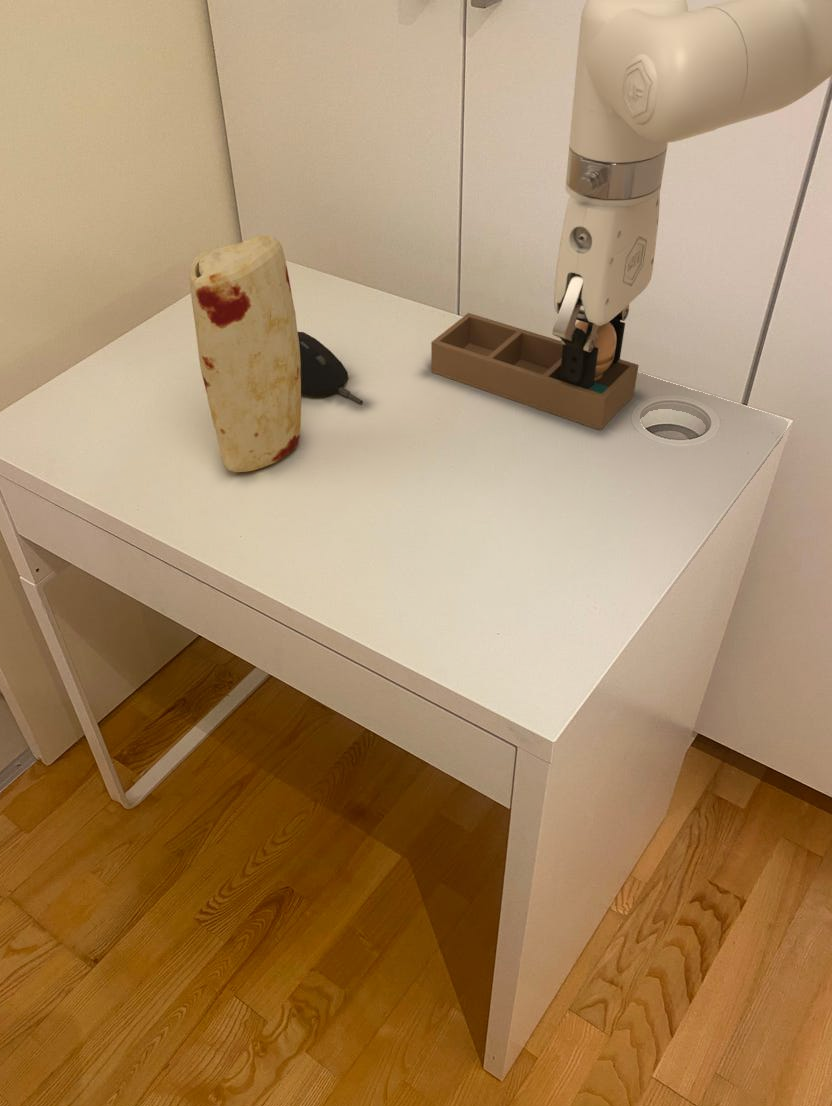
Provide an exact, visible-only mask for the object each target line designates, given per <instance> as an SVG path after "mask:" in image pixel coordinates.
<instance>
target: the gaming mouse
mask: <svg viewBox="0 0 832 1106" xmlns="http://www.w3.org/2000/svg"><path fill="white" fill-rule="evenodd" d="M298 339H299V347H300V360H301V396H304V397H307V398H322V397H325V396H329V395H332V394H335V393H337V392H338V393H339V394H341V395H342V396H343V397H345V398H349V399H351V400H353V401H354V402H356V403H357V404H359V405H362V404H363V403H364V402H363V400H362V399H360V398H359V397H358V396H355V395H354V394H352V393H351V391H350V390H348V389H346V388H344V387H345V385H346V384H347V382H348V380H349V373H348V371H347V369H346V368H345V366H344V364H343V363H342V361H341V360H339V358H338V357H337V356H336V354H334V353H333V352H332V351H331V350H330V349H329V348H327V347H326V346H325V345H324V344H323V343H321V342H320V340H318V339H317V338H315V337H313V336H311V335H310V334H308V333H306V332H304V331H298Z"/></svg>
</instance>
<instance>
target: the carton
mask: <svg viewBox="0 0 832 1106" xmlns="http://www.w3.org/2000/svg"><path fill="white" fill-rule="evenodd" d="M430 344H431V347H430V349H431V350H430V351H431V352H430V353H431V358H430V359H431V373H432V374H435V375H439V376H441V377H444V378H448V379H451V380H454V381H456V382H459V383H462V384H465V385H468V386H470V387H474V388H477V389H480V390H482V391H485V392H488V393H492V394H493V395H497V396H499V397H502V398H506V399H507V400H511V401H514V402H516V403H519V404H523V405H525V406H528V407H532V408H534V409H538V410H540V411H542V412H546V413H548V414H551V415H555V416H558V417H560V418H563V419H565V420H566V419H567V420H568V421H572V422H575V423H577V424H580V425H583V426H586V427H590V428H592V429H595V430H597V431H601V430H602V429H604V427H605V426H606V425H607V424H608V423H610V421H611V420H612V419H613V418H614V417H615V416H616V415H617V414H618V413H619V412H620V411H621V410H622V409H623V408H624V407H625V406H626V405H627V403H628V402H629V401H630V400H632V399H633V397H635V389H636V384H637V377H638V371H639V366H640V365H639V364H637V363H635V362H631V361H627V360H624V359H621V358H620V360H619V361H618V362H617V363H612V364H611V366H610V367H609V368H608V369H607V371H605V372H604V373H603V376H602V377H601V378H600V379H598V380H595V381H594V385H593V386H592V387H591V388H590V389H586V388H582V387H579V386H576V385H573V384H570V383H567V382H564V381H562V380H561V379H560V371H561V361H562V351H563V345H562V344H561V340H559V339H555V338H552V337H550V336H546V335H542V334H539V333H536V332H532V331H529V330H526V329H523V328H519V327H517V326H512V325H509V324H507V323H503V322H500V321H497V320H493V319H490V318H488V317H484V316H480V315H477V314H474V313H470V312H467V313H466V314H465V315H464V316H462V317H461V318H460V319H458V320H457V321H456V322H455V323H453V324H452V325H451V326H450V327H448V328H447V329H446V330H444V332H442V333H441V334H440V335H438V336H437V337H436V338H434V339H433V340H432V341H431V343H430Z"/></svg>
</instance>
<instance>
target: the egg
mask: <svg viewBox="0 0 832 1106" xmlns="http://www.w3.org/2000/svg"><path fill="white" fill-rule="evenodd" d="M575 326H576V327H577V328H579V329H582V330H583V331H584V332H585V334H586V332H587V327H588V323H586V322H583V321H579V320H578V322H576V323H575ZM616 342H617V335H616V331H615V328H614V326H613V325H612V324H611V322H610V321H609V322H608V323H606V324H604V325H602V326H599V327H598V332H597V336H596V341H595V345H594V347H596V348H598V355H597V363H596V371H595V379H594V381H595V380H598V379H600V378H601V377H602V376H603V373H604V372H605V371H607V369H608V368H609V367H610V366H611V364H612V362H613V360H614V356H615V349H616Z"/></svg>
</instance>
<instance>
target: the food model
mask: <svg viewBox="0 0 832 1106" xmlns="http://www.w3.org/2000/svg"><path fill="white" fill-rule="evenodd" d="M188 275H189V276H188V278H189V288H190V296H191V297H190V298H191V305H192V313H193V320H194V328H195V335H196V343H197V351H198V352H197V353H198V360H199V361H198V362H199V367H200V372H201V376H202V377H201V378H202V380H203V385H204V388H205V393H206V397H207V402H208V406H209V410H210V415H211V420H212V423H213V426H214V431H215V435H216V438H217V443H218V447H219V451H220V456H221V459H222V463H223V465H224V467H225V468H226V469H227V470H228V471H230V472H234V473H242V472H243V473H246V472H252V471H256V470H259V469H262V468H265V467H267V466H270V465H272V464H275V463H276V462H278V461H280V460H282V459H283V458H285V457H286V456H287V455H289V454H290V453H292V452H293V451H294V450H295V449H296V447H297V446H298V444H299V440H300V437H301V434H300V433H301V425H302V395H301V360H300V347H299V339H298V332H299V330H298V325H297V323H298V322H297V316H296V309H295V304H294V299H293V294H292V293H293V292H292V288H291V287H292V286H291V282H290V276H289V270H288V266H287V261H286V257H285V253H284V249H283V246H282V244H281V242H280V241H279V239H277V238H276V237H275V236H273V235H258V236H254V237H251V238H249V239H246V240H244V241H241V242H239V243H234V244H230V245H226V246H222V247H220V246H218V245H217V246H214V247H212V248H209V249H206V250H203V251H201V253H199V254H198V255H197V256H196V257H195V258H194V260H193V261H192V263H191V265H190V267H189V272H188Z"/></svg>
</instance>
